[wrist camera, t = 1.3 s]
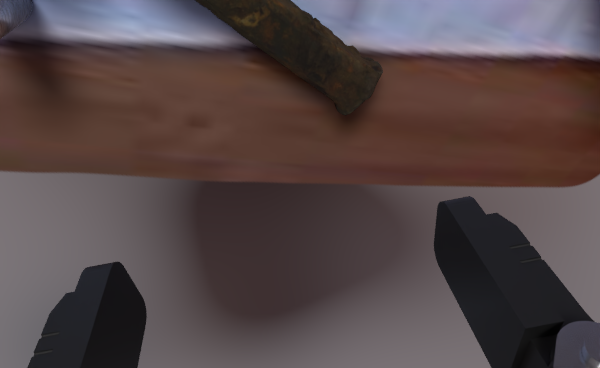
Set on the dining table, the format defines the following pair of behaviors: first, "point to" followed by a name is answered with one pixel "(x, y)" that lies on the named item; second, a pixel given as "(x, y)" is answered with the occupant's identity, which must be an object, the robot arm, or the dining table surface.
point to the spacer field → (13, 14)
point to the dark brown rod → (303, 47)
